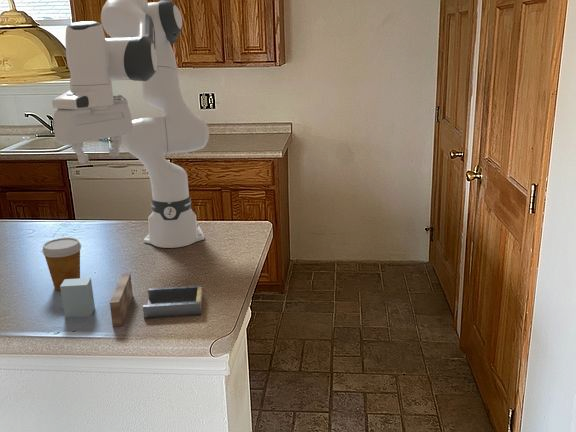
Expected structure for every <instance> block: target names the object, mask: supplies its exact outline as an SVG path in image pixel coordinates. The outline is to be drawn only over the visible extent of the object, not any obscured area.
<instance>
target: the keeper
mask: <svg viewBox="0 0 576 432" xmlns="http://www.w3.org/2000/svg"><path fill="white" fill-rule="evenodd" d="M147 295H148V296H147V297H148V301H147V304H143V305H142V310H143V311H142V312H143V319H148V320H149V319H162V318H163V319H164V318H178V317H192V316H193V317H195V316H201V315H202V308H203V297H204V296H203V285H188V286H187V285H186V286H185V285H183V286H169V287H168V286H167V287H156V288H155V287H152V288H151V287H150V288H149V287H148V289H147Z"/></svg>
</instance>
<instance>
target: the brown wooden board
mask: <svg viewBox="0 0 576 432" xmlns="http://www.w3.org/2000/svg"><path fill="white" fill-rule="evenodd" d="M133 296H134V293H133V285H132V276H131V273H121V276H120V277H119V281H118V283H117V285H116V287H115V289H114V292H113V293H112V297H111V299H110V301H109V309H110V317H111V323H112V324H111V325H112V328H117V327H118V328H119V327H123V324H124V321H125V318H126V315H127V313H128V310H129V308H130V304H131V302H132V299H133Z"/></svg>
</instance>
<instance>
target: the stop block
mask: <svg viewBox="0 0 576 432" xmlns="http://www.w3.org/2000/svg"><path fill="white" fill-rule="evenodd" d="M92 282H93V281H92V278H91V277H83V278H82V277H80V278H79V279H65V280H64V281H63V283H62V284H61V286H60V290H61V291H60V295H61V301H62V309H63V315H64V318H65V319H66V318H68V319H70V318H85V317H92V316H93V313H94V312H95V310H96V305H95V298H94V290H93V284H92Z"/></svg>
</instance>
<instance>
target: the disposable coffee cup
mask: <svg viewBox="0 0 576 432" xmlns="http://www.w3.org/2000/svg"><path fill="white" fill-rule="evenodd" d="M81 249H82V243H80V241H79V239H77V238H75V237H60V238H54V239H51V240H49V241H46V242H44V244H43V245H42V249H41V253H42V254H43V256H44V258H45V261H46V264H47V268H48V270H49V271H48V272H49V276H50V277H51V281H52V285H53V287H54V290H55V291H58V292H61V290H60V286H61V284H62V283H63V281H64V280H65V279H79V278H81Z"/></svg>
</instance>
